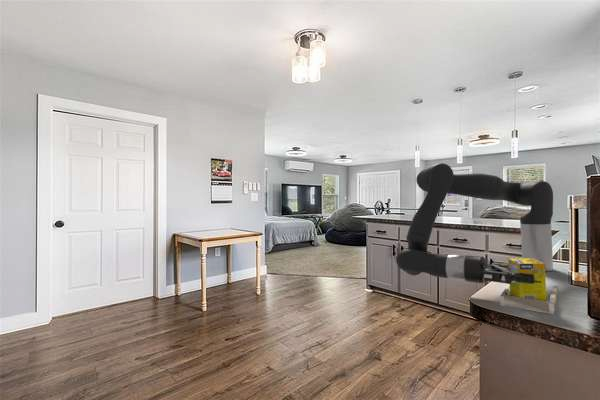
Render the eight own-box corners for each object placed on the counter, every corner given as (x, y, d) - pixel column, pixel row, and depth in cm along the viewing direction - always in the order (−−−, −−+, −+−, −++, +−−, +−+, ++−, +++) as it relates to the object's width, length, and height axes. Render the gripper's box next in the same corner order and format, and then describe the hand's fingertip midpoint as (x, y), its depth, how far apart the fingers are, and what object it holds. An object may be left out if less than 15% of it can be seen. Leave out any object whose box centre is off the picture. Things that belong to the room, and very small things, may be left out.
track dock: (513, 285, 94) (512, 277, 94) (557, 291, 87) (557, 282, 87) (500, 305, 78) (500, 295, 78) (553, 314, 71) (553, 303, 71)
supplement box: (547, 306, 75) (545, 263, 75) (520, 306, 76) (518, 263, 76) (534, 298, 81) (533, 257, 80) (509, 297, 82) (507, 258, 82)
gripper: (458, 259, 83) (532, 266, 72) (471, 251, 93) (537, 256, 82) (459, 286, 82) (534, 297, 72) (472, 275, 93) (539, 283, 82)
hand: (535, 275), depth 77 cm, fingers open, 8 cm apart
